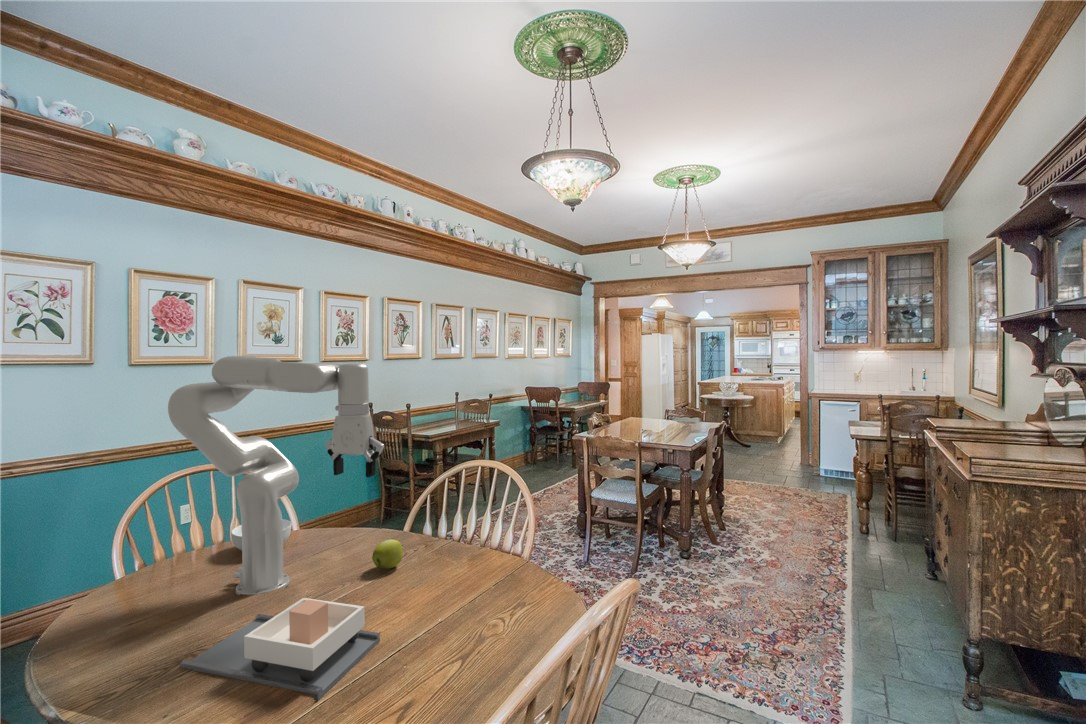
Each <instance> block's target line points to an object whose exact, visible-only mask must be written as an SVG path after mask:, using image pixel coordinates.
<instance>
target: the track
mask: <svg viewBox="0 0 1086 724" xmlns="http://www.w3.org/2000/svg"><path fill="white" fill-rule="evenodd" d="M275 616H276V615H269V614H268V615H267V614H261V613H259V614H257V615H255V617H254V619H253V621H251V622H249V623H248V624H246V625H245V626H243V627H241V628H240V629H238V630H237V631H235V632H234V633H232V634H229V636H226V637H225V638H223V639H222V640H221V641H219V642H218V643H216V644H215V645H214V644H213V646H211V647H209V648H208V649H207V650H205V651H203V652H201V653H200V654H198V655H196V656H195V657H194V658H192V659H190V660H189V659H188V660H187V659H185V660H182V661H180V662H179V668H181V669H187V670H193V671H197V672H201V673H206V674H212V675H216V676H221V677H226V678H232V679H236V680H242V681H246V682H251V683H256V684H261V685H266V686H271V687H275V688H281V689H286V690H290V691H296V692H301V693H306V694H309V695H315V697H313V701H320V700H321V699H322V698H323V697H324V696H325V695H326V694H327V693H328V692H329V691H330V690H331V689H333V687H335V685H336V684H337V683H339V681H340V680H342V679H343V678H344V676H345V675H347V674H348V673H349V672H350V671H351V670H352V669H353V668H354V667H355V666H356V665H357V664H358V663H359V662H360V661H361V660H362V659H363V658H364V657H366V655H367V654H369V653H370V651H371V650H372V649H374V648H375V647H376V646H377V645H378V644H379V643H380V641H381V638H380V637H381V634H380V632H377V631H376V632H374V631H369V630H365V629H364V630H363V629H361V630H360V631H359V637H358V638H357V639H356V640H355V641H354V642H348V641H347V642H346V643H345V644H344V645H342V646H341V647H340V648H339V649H338V650H337V651H335V652H334V653H333V654H332V655H331V656H330V657H329V658H327V659H326V660H325V661H324V662H323V663H322V664H321V665H319V666H318V667H317V668H316V675H315V676H314V677H313V678H312V679H311V680H310V681H308V682H305V681H303V680H302V679H301V678H300V675H299V671H300V668H295V667H290V666H284V665H279V664H274V663H268V666H267V667H266V668H265V669H264V670H262V671H261V672H256V671H254V669H253V668H252V664H251V663H252V659H247V658H245V656H244V636H245V635H247V634H248V633H250V632H252V631H253V630H255V629H256V628H258V627H259V626H261V625H262V624H264V623H265V622H267V621H268V620H270V619H271V618H273V617H275Z"/></svg>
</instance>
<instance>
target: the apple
mask: <svg viewBox="0 0 1086 724" xmlns="http://www.w3.org/2000/svg"><path fill="white" fill-rule="evenodd" d="M372 552H373V553H372V556H371V559H372V562H373V564H374V565H375V566H376V567H377V569H382V570H385V569H386V570H390V569H392V568H395V567H396V566H397V565H399V563H401V561H402V559H403V556H404V549H403V545H402V543H401V542H400V541H398V540H396V539H392V538H391V539H385V540H383V541H382V542H380V543H379V544H378V545H377V546H376V547H375V548H374V550H373V551H372Z"/></svg>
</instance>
